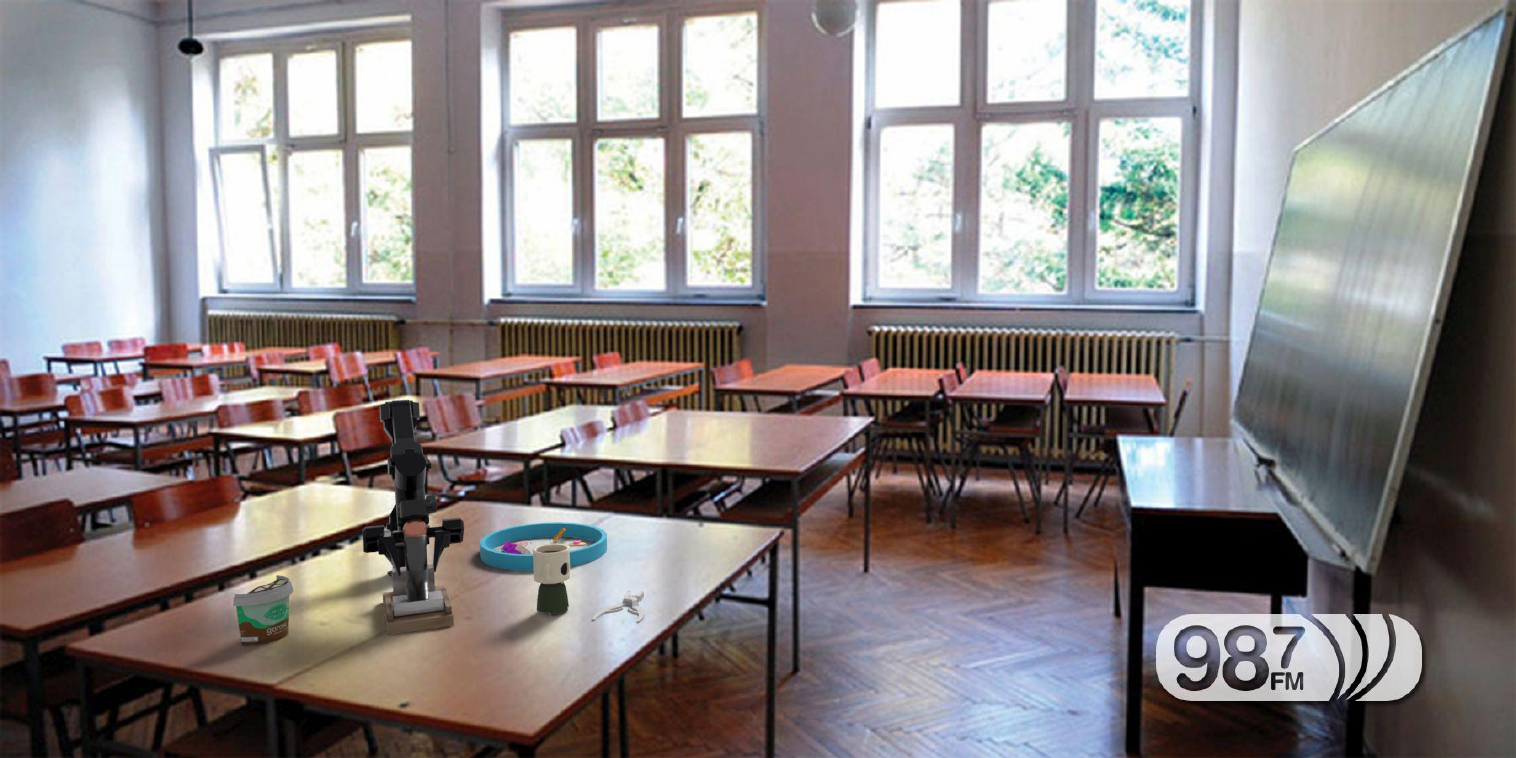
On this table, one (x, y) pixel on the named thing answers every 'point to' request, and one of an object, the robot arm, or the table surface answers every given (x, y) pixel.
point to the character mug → (551, 577)
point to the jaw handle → (416, 574)
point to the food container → (264, 612)
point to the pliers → (627, 601)
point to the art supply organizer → (522, 557)
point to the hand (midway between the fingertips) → (417, 573)
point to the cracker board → (420, 619)
